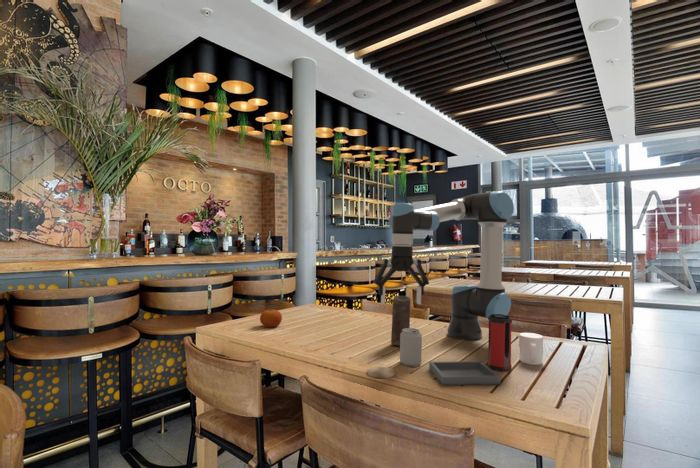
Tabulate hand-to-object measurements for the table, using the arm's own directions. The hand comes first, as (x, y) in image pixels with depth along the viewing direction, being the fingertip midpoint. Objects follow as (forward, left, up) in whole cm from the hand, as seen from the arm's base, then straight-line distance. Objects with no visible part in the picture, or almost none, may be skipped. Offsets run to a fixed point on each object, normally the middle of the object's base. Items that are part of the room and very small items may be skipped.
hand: (400, 304), depth 137 cm
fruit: (+53, -51, -21) cm, 76 cm away
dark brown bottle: (-4, -18, -21) cm, 28 cm away
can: (-3, +4, -21) cm, 21 cm away
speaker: (-33, +9, -21) cm, 40 cm away
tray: (-17, +17, -20) cm, 31 cm away
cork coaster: (+9, +13, -20) cm, 26 cm away
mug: (-48, +3, -21) cm, 52 cm away
